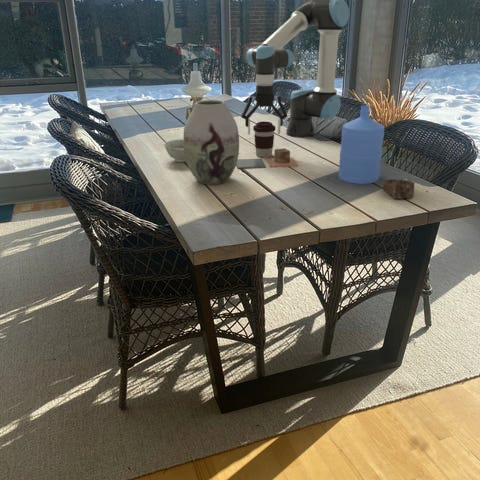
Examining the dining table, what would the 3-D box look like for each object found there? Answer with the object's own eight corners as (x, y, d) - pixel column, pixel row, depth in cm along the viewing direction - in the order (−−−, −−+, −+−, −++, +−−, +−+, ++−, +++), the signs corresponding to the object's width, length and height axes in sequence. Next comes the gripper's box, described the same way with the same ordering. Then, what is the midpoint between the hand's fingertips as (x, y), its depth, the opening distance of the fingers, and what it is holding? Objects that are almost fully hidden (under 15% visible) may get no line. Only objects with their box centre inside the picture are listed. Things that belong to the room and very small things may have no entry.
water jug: (371, 188, 182) (379, 111, 171) (331, 181, 190) (337, 107, 178) (384, 176, 194) (392, 104, 182) (346, 170, 202) (352, 101, 190)
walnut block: (284, 159, 215) (285, 148, 213) (289, 162, 211) (290, 151, 209) (274, 160, 214) (274, 149, 211) (279, 163, 209) (279, 152, 207)
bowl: (206, 156, 223) (205, 140, 220) (191, 166, 210) (191, 149, 207) (174, 154, 228) (173, 138, 225) (158, 163, 214) (157, 146, 211)
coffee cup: (273, 159, 218) (273, 125, 212) (251, 158, 220) (251, 124, 214) (276, 153, 227) (276, 120, 221) (255, 152, 229) (255, 120, 223)
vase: (198, 192, 180) (194, 109, 167) (177, 176, 197) (172, 100, 184) (249, 183, 189) (249, 103, 176) (225, 169, 206) (223, 95, 193)
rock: (382, 189, 180) (384, 172, 177) (403, 189, 180) (406, 172, 178) (394, 200, 168) (396, 182, 166) (416, 200, 169) (419, 182, 166)
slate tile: (261, 160, 217) (261, 158, 217) (265, 168, 206) (265, 166, 206) (234, 161, 216) (234, 159, 216) (237, 169, 205) (237, 167, 205)
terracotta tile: (292, 159, 218) (292, 157, 218) (298, 166, 208) (298, 165, 207) (266, 160, 217) (266, 158, 217) (270, 167, 207) (270, 166, 206)
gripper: (291, 82, 215) (289, 131, 224) (235, 83, 213) (235, 132, 222) (295, 85, 208) (292, 134, 217) (236, 86, 206) (237, 136, 215)
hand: (263, 133), depth 219 cm, fingers open, 13 cm apart
